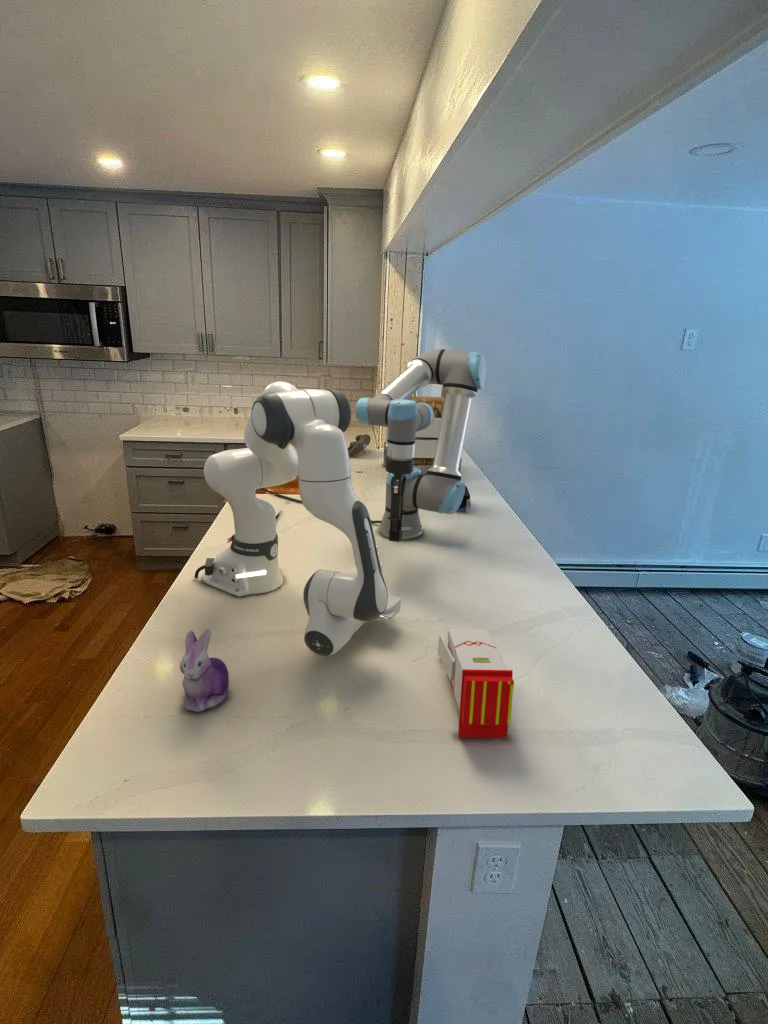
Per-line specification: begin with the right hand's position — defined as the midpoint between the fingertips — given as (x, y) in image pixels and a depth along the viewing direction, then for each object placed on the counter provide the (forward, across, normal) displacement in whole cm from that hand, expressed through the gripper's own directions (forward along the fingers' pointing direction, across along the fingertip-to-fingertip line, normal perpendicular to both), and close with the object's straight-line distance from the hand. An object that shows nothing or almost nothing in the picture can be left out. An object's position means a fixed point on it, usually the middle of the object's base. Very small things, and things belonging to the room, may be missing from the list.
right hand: (395, 537), depth 162 cm
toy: (+14, +48, +22) cm, 55 cm away
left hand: (+7, +18, -4) cm, 20 cm away
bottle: (+14, +19, -4) cm, 23 cm away
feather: (+13, -44, -48) cm, 67 cm away
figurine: (+14, +60, -30) cm, 69 cm away
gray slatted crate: (+12, -116, -1) cm, 117 cm away
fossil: (+12, -146, -37) cm, 151 cm away
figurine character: (+12, -70, +19) cm, 74 cm away
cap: (-2, 0, 0) cm, 2 cm away
